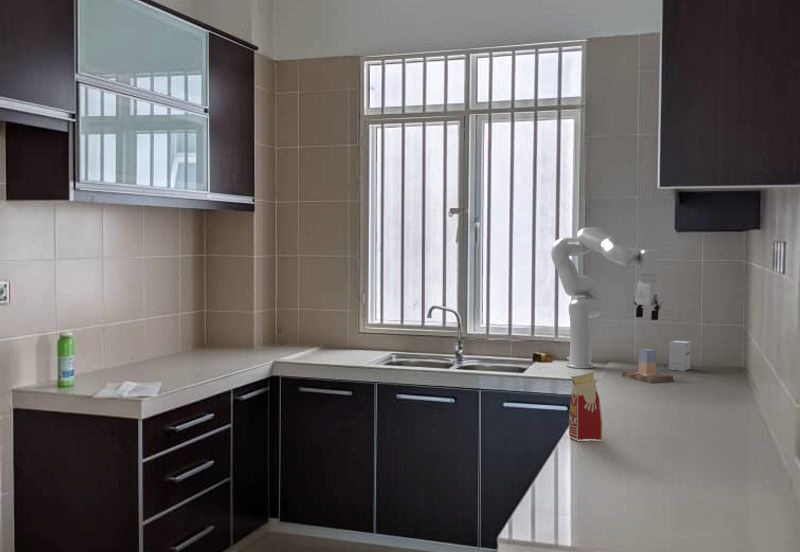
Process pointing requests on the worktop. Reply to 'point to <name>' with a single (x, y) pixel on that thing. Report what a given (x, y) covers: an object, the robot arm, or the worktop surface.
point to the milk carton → (585, 409)
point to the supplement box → (679, 355)
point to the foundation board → (647, 376)
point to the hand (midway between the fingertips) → (646, 318)
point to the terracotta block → (647, 368)
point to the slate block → (647, 355)
